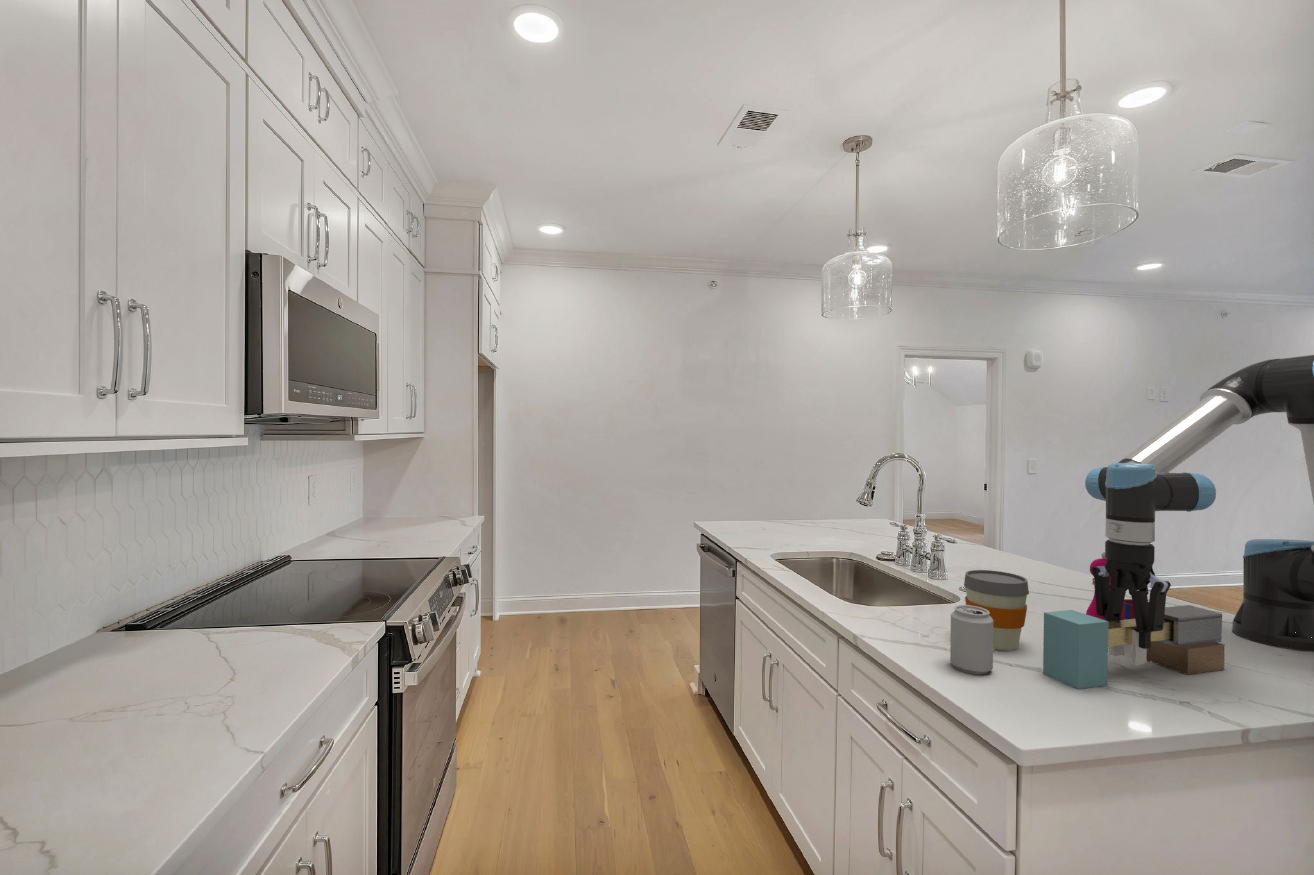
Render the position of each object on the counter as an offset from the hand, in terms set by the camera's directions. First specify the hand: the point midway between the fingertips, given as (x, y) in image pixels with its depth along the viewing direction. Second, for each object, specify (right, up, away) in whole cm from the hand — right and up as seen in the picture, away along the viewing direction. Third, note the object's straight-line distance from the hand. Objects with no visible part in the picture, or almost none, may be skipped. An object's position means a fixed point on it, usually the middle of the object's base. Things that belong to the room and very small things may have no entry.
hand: (1127, 658), depth 113 cm
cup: (+22, -3, +21) cm, 31 cm away
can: (-30, -3, +1) cm, 30 cm away
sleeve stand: (+15, -3, +4) cm, 15 cm away
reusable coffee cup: (-17, -2, +15) cm, 23 cm away
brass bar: (+5, +4, +1) cm, 6 cm away
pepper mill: (+10, -3, +18) cm, 21 cm away
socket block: (-13, -3, -3) cm, 13 cm away
